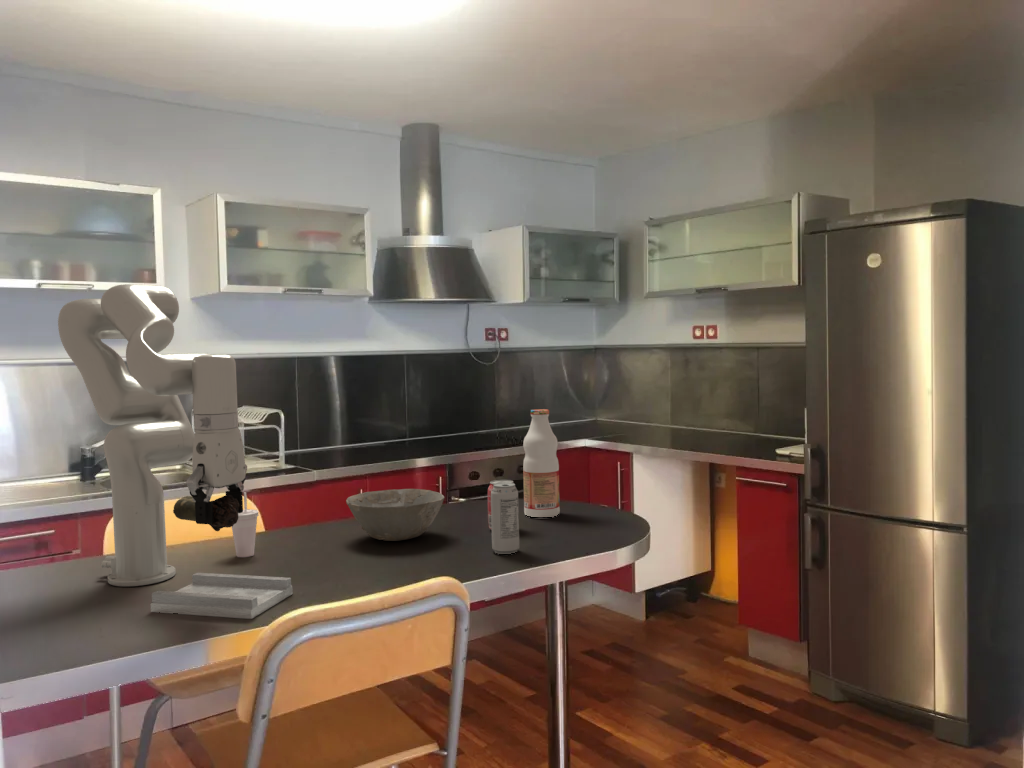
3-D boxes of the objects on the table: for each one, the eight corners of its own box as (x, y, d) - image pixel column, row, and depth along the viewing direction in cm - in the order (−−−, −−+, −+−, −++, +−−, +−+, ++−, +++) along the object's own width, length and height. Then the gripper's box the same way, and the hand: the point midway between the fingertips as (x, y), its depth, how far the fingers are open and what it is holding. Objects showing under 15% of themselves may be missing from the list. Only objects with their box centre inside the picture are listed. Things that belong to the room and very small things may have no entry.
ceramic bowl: (452, 545, 189) (450, 502, 189) (349, 554, 184) (348, 509, 183) (437, 524, 211) (436, 486, 210) (345, 531, 205) (344, 491, 205)
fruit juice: (516, 515, 219) (514, 410, 217) (540, 510, 226) (538, 407, 224) (543, 520, 212) (541, 412, 211) (567, 514, 219) (565, 409, 218)
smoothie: (265, 554, 185) (263, 492, 184) (239, 560, 180) (236, 496, 179) (251, 549, 189) (248, 489, 188) (224, 555, 184) (222, 493, 184)
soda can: (522, 528, 204) (521, 480, 203) (506, 534, 198) (505, 485, 198) (498, 525, 208) (497, 478, 207) (482, 531, 202) (481, 482, 201)
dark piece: (173, 521, 156) (172, 491, 156) (207, 515, 161) (206, 487, 161) (217, 534, 144) (216, 502, 144) (253, 528, 149) (252, 497, 148)
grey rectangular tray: (151, 611, 147) (150, 594, 146) (199, 588, 160) (198, 572, 160) (251, 618, 142) (250, 600, 142) (292, 593, 155) (291, 577, 155)
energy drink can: (511, 547, 186) (510, 481, 185) (524, 553, 181) (522, 485, 180) (487, 550, 184) (485, 483, 183) (499, 557, 178) (498, 488, 177)
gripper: (205, 428, 140) (209, 529, 141) (260, 418, 157) (264, 508, 158) (167, 428, 142) (171, 528, 143) (225, 418, 158) (229, 507, 159)
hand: (220, 517), depth 150 cm, fingers closed on dark piece, 8 cm apart
